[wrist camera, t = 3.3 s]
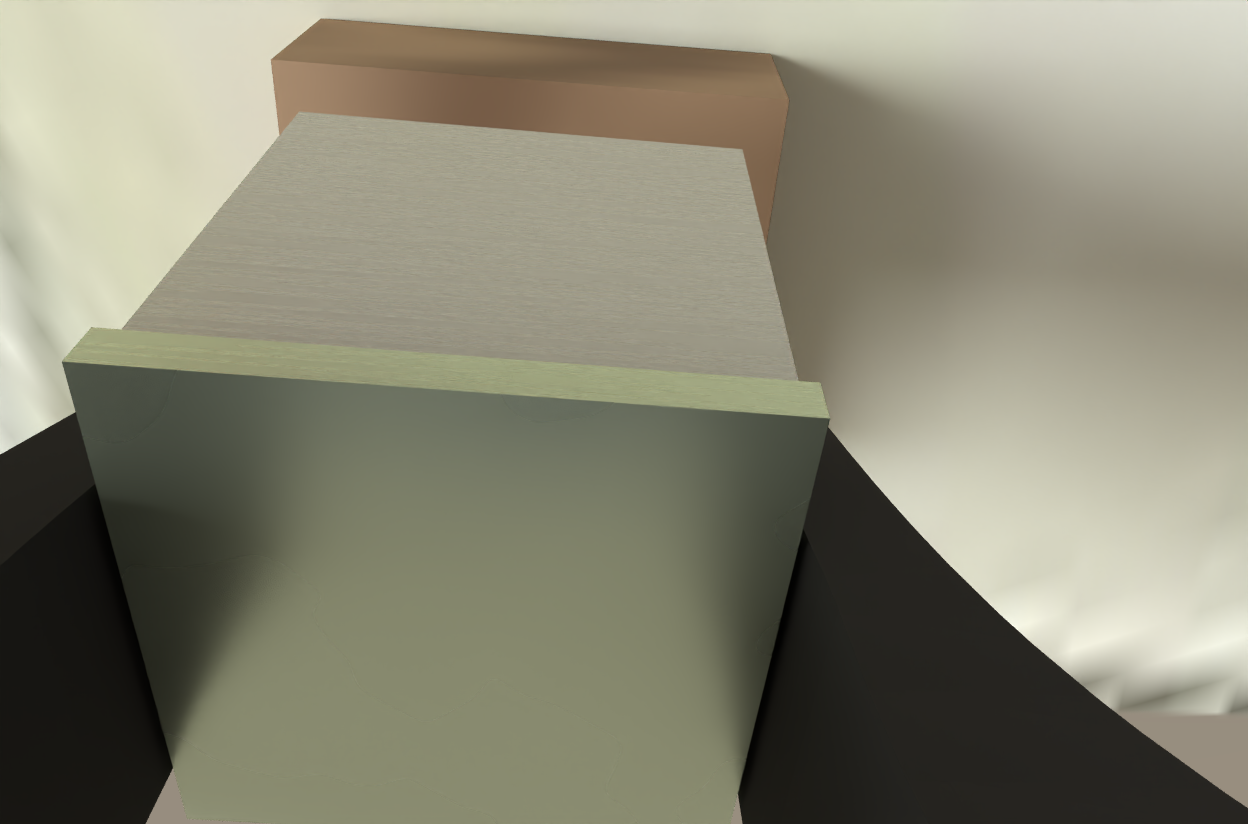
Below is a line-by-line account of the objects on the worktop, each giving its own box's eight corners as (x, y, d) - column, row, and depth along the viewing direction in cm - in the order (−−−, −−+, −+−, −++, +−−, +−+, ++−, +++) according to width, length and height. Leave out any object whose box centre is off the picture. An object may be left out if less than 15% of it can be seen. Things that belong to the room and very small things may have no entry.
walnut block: (770, 54, 16) (789, 99, 14) (716, 424, 20) (724, 504, 18) (320, 18, 16) (271, 60, 14) (353, 400, 20) (319, 477, 17)
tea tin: (753, 140, 10) (828, 418, 6) (695, 495, 13) (725, 849, 9) (287, 100, 10) (60, 361, 6) (326, 469, 13) (187, 818, 9)
